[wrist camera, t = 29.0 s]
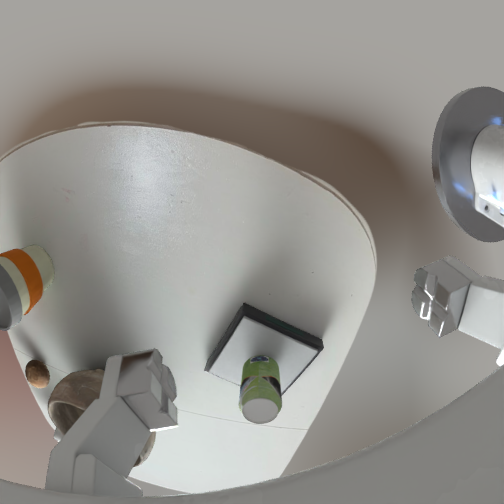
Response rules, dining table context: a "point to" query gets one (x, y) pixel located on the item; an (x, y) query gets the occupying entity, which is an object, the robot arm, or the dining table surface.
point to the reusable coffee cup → (22, 282)
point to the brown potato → (37, 374)
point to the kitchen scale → (263, 347)
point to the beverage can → (260, 389)
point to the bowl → (82, 403)
